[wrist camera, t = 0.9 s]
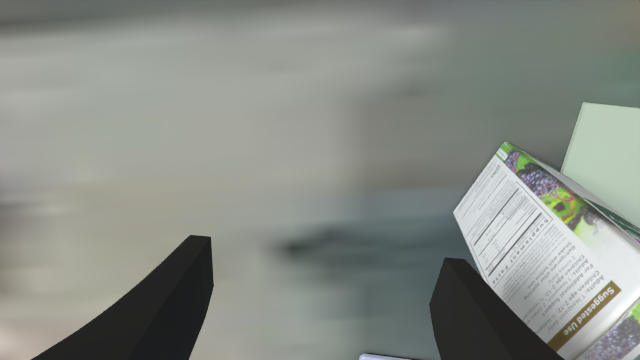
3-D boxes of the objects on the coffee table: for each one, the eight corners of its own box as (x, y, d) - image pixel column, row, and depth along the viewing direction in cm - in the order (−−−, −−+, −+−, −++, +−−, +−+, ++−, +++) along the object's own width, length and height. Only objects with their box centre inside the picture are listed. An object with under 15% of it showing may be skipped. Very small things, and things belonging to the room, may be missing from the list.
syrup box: (581, 182, 24) (846, 362, 11) (520, 253, 26) (678, 479, 13) (503, 139, 24) (673, 267, 10) (447, 214, 26) (530, 402, 13)
